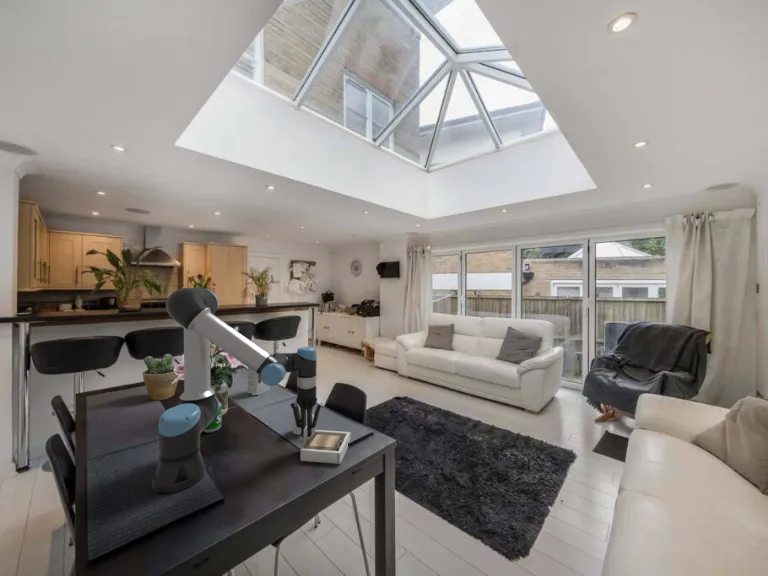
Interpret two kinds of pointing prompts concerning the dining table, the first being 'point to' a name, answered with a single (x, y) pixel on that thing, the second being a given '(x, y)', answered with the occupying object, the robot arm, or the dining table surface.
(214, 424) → the soda can
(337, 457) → the bay
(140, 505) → the dining table surface
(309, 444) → the trolley
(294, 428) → the mug
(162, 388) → the potted plant
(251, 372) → the supplement box
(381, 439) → the dining table surface
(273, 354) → the robot arm
